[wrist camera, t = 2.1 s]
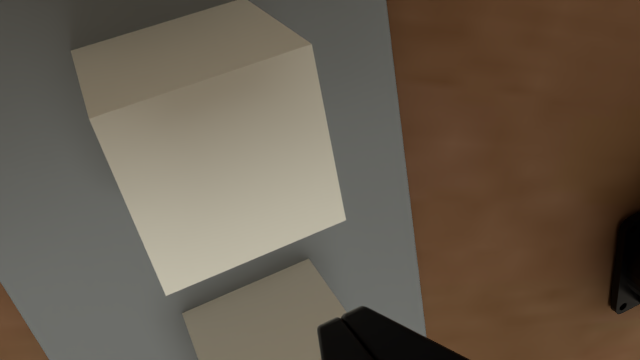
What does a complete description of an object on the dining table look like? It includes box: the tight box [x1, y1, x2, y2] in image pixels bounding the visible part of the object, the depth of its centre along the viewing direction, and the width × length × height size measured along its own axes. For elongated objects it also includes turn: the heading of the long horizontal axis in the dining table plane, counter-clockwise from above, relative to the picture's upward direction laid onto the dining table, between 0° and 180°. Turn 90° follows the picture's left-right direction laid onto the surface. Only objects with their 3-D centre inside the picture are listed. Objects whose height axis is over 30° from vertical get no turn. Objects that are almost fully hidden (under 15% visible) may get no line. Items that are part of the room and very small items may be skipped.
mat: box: [0, 0, 426, 360], centre depth 19 cm, size 30×14×1 cm, turn 11°
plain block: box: [71, 0, 346, 296], centre depth 16 cm, size 5×5×5 cm
